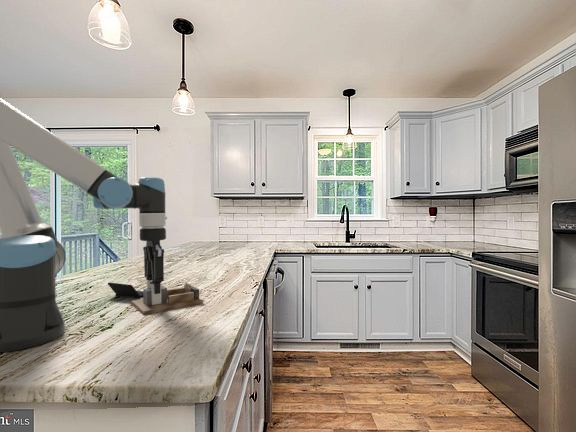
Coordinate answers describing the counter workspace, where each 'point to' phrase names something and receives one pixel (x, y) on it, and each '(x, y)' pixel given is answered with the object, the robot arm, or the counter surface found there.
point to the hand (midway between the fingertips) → (154, 302)
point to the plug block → (147, 296)
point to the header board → (172, 300)
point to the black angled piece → (125, 290)
